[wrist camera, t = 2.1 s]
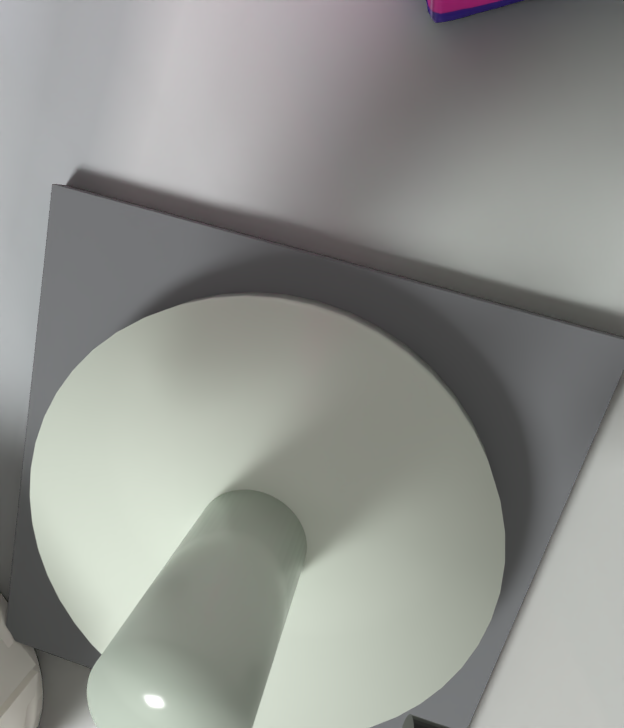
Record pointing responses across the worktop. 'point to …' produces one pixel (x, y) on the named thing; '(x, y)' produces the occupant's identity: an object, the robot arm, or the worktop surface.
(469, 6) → the supplement box
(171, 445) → the lid
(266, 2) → the worktop surface
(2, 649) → the bowl
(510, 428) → the mat
